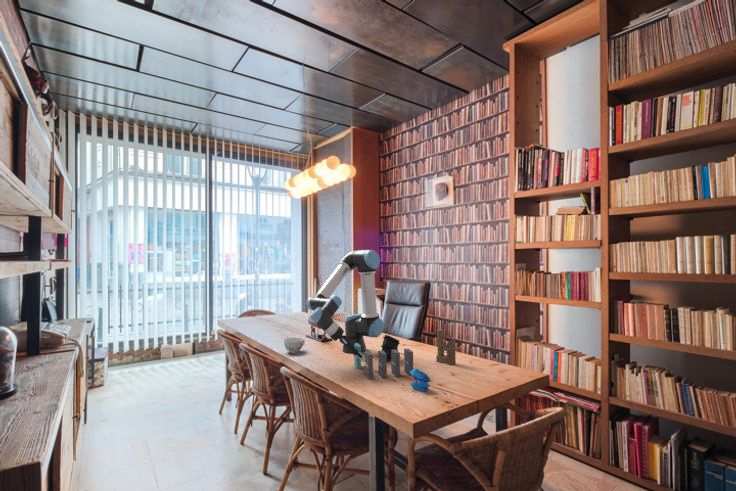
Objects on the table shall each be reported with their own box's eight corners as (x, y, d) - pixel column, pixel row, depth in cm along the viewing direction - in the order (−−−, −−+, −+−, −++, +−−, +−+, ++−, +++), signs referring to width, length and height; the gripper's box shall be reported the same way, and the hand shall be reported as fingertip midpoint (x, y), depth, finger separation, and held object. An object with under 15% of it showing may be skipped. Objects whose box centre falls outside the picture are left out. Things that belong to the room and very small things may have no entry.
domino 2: (382, 378, 181) (381, 354, 182) (378, 374, 188) (378, 350, 188) (386, 378, 182) (386, 353, 182) (383, 373, 189) (382, 350, 189)
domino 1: (368, 379, 180) (368, 355, 180) (365, 375, 186) (364, 351, 187) (373, 379, 180) (373, 354, 181) (369, 374, 187) (369, 351, 187)
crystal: (429, 379, 159) (405, 368, 166) (425, 397, 160) (401, 386, 167) (436, 374, 165) (413, 364, 172) (432, 392, 166) (409, 381, 173)
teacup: (291, 355, 225) (291, 342, 225) (279, 352, 233) (279, 339, 234) (310, 351, 236) (310, 338, 237) (298, 348, 245) (298, 335, 245)
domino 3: (395, 377, 183) (395, 353, 183) (391, 373, 190) (391, 349, 190) (400, 376, 183) (399, 352, 184) (395, 372, 190) (395, 349, 191)
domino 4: (408, 376, 184) (408, 352, 185) (404, 371, 191) (404, 348, 192) (413, 375, 185) (413, 351, 185) (408, 371, 192) (408, 348, 192)
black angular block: (376, 360, 207) (384, 334, 212) (390, 366, 216) (397, 340, 221) (381, 361, 205) (388, 335, 210) (395, 367, 213) (402, 341, 218)
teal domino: (356, 368, 197) (356, 346, 198) (354, 365, 204) (353, 343, 204) (361, 368, 198) (361, 346, 198) (358, 364, 205) (358, 343, 205)
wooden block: (452, 365, 202) (451, 332, 202) (436, 361, 210) (435, 329, 210) (456, 364, 204) (455, 331, 205) (440, 360, 212) (439, 329, 213)
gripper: (327, 332, 208) (355, 359, 211) (332, 340, 188) (363, 369, 191) (336, 322, 209) (364, 349, 212) (342, 329, 190) (372, 358, 193)
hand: (363, 359), depth 202 cm, fingers closed on teal domino, 7 cm apart
